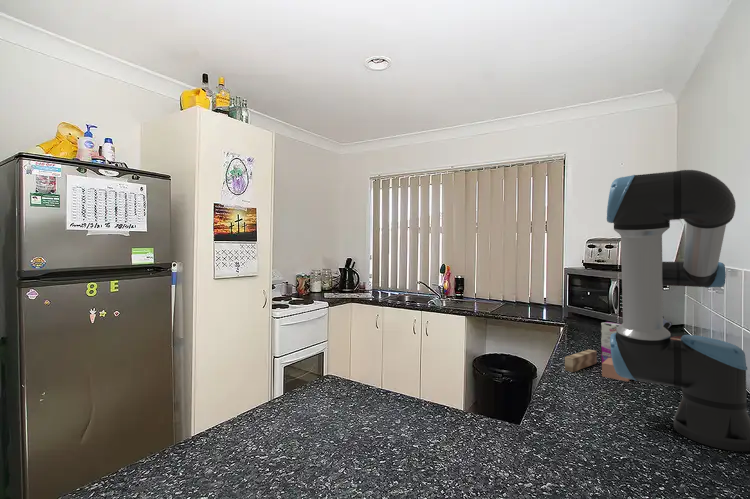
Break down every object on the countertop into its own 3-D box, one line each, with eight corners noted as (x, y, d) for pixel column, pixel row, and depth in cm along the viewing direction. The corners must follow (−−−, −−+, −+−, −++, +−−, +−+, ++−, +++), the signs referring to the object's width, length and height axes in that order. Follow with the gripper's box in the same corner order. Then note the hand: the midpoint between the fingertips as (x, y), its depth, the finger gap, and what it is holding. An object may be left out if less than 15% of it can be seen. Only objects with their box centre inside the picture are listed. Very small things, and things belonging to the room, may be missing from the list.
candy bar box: (637, 368, 143) (636, 326, 143) (629, 370, 141) (628, 327, 141) (608, 361, 153) (608, 321, 154) (600, 362, 151) (600, 322, 151)
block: (628, 382, 129) (628, 367, 129) (602, 377, 135) (601, 363, 135) (634, 375, 136) (633, 361, 137) (608, 370, 142) (608, 357, 142)
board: (572, 372, 139) (572, 358, 140) (564, 370, 142) (564, 357, 142) (596, 363, 151) (596, 350, 151) (588, 361, 153) (588, 349, 153)
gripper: (675, 300, 125) (676, 370, 125) (631, 296, 136) (631, 361, 136) (667, 302, 121) (668, 375, 121) (622, 298, 131) (622, 365, 131)
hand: (648, 368), depth 128 cm, fingers closed
